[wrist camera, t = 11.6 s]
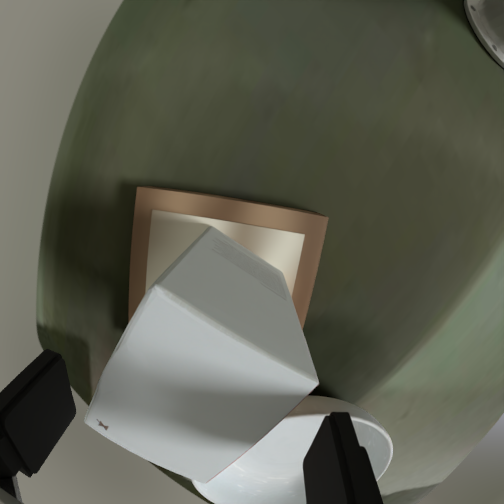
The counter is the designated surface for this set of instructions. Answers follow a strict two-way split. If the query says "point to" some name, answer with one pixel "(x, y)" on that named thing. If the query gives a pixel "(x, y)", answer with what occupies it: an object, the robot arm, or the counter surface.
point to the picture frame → (231, 224)
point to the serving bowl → (292, 456)
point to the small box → (205, 362)
